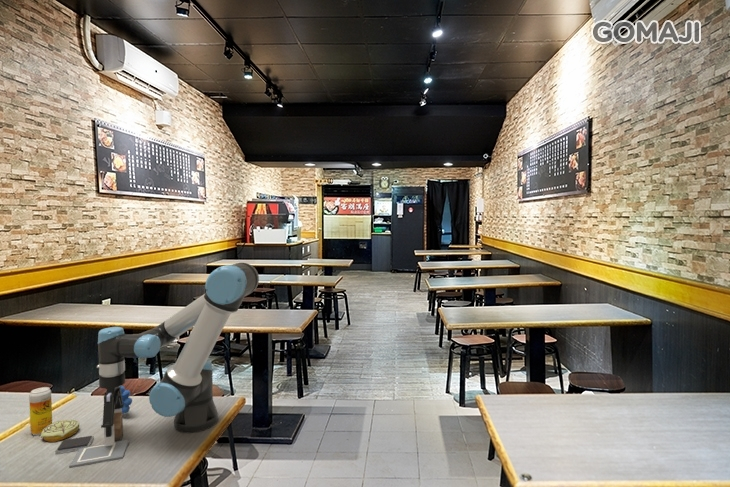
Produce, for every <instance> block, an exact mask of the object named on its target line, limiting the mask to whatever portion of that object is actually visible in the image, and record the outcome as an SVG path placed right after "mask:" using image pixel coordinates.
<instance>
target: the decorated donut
mask: <svg viewBox="0 0 730 487" xmlns="http://www.w3.org/2000/svg"><path fill="white" fill-rule="evenodd" d="M79 429H80V422H79V420H76V419H65V420H64V419H63V420H57V421H55V422H52V424H50V425H48V426H47V427H45V428H44V429H43V431H42V433H41V435H40V438H41V439H43V440H44V441H46V442H48V443H49V442H50V443H55V442H59V441H63V440H66V439H69V438H70V437H72V436H73V435H75V434H76V433H77V432H78V430H79Z"/></svg>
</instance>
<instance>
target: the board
mask: <svg viewBox="0 0 730 487" xmlns="http://www.w3.org/2000/svg"><path fill="white" fill-rule="evenodd" d="M129 443H130V440H129V439H126V440H121V441H116V442H115V444H114V445H111V446H105V443H101V444H95V445H90V446H89V447H86V448H80V449H79V450H78V451H76V454H75V455H74V457H73V459H72V461H71V462H70V464H69V466H68V467H69V468H76V467H83V466H87V465H88V466H89V465H92V464H99V463H105V462H110V461H116V460H122V459H123V458H124V456H125V453H126V451H127V449H128V445H129Z"/></svg>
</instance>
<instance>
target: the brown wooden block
mask: <svg viewBox="0 0 730 487" xmlns="http://www.w3.org/2000/svg"><path fill="white" fill-rule="evenodd" d="M123 421H124V420H123V415H122V412H119V413H114V421H113V424H114V437H115V442H118V441H122V438H123V435H124V422H123ZM108 423H109V422H108Z"/></svg>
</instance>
